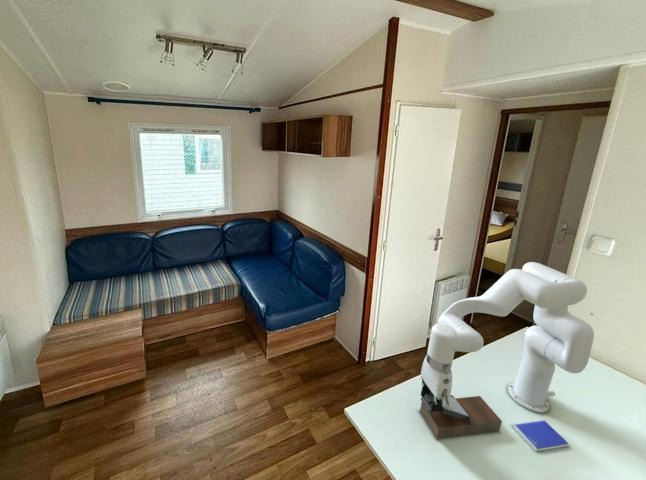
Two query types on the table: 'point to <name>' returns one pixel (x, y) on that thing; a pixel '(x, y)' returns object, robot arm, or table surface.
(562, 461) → the table surface
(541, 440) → the hard drive
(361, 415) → the table surface
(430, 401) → the device
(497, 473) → the table surface
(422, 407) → the stand
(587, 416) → the table surface
